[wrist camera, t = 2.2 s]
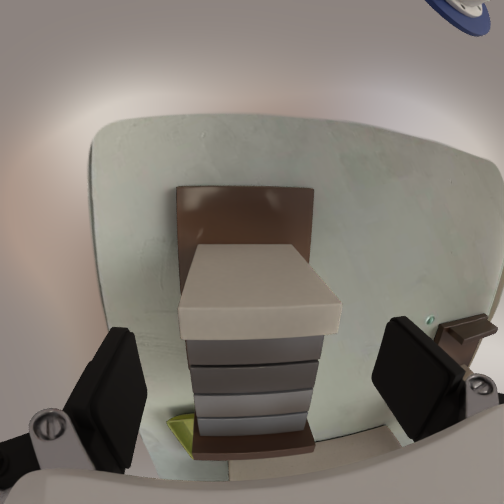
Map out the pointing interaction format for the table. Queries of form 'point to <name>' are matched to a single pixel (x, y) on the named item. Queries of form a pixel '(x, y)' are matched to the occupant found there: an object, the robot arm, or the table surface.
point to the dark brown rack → (464, 338)
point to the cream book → (255, 295)
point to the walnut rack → (253, 350)
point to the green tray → (183, 430)
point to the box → (318, 456)
